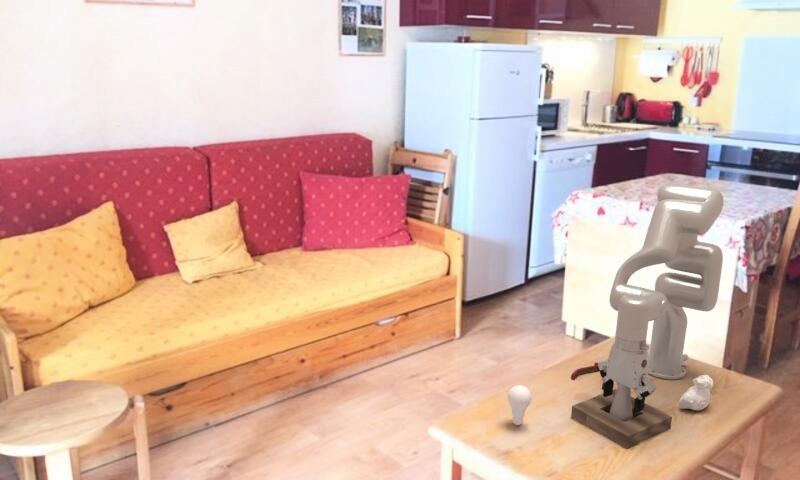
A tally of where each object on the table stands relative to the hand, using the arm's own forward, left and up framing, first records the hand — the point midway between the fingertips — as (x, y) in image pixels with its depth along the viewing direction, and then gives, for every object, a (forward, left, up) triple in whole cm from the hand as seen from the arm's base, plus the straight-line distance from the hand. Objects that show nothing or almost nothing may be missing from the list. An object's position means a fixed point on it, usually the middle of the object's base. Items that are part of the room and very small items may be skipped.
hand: (622, 403), depth 179 cm
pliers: (-19, -21, -7) cm, 29 cm away
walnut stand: (0, 0, -6) cm, 6 cm away
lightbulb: (+24, -14, -6) cm, 28 cm away
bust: (-25, +6, -6) cm, 26 cm away
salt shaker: (0, 0, -6) cm, 6 cm away
